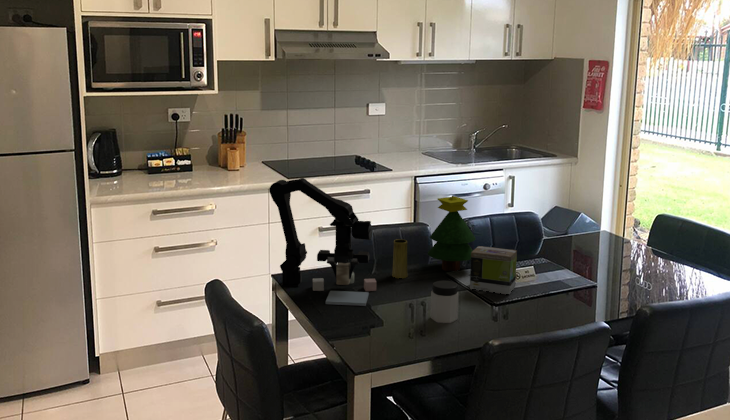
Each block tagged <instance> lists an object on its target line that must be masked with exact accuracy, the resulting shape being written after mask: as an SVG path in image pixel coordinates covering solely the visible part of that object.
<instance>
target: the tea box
mask: <svg viewBox="0 0 730 420" xmlns="http://www.w3.org/2000/svg"><path fill="white" fill-rule="evenodd" d="M472 250H473V251H472V252H471V259H470V272H469V275H470V276H469V289H470V290H472V289H476V290H475V291H479V290H483V291H482V292H486V291H489V292H488V293H493V292H495V293H494V294H500V293H501V295H506V294H509V295H510V294H511V293H512V292H513V291H514V289H515V288H516V280H517V261H518V260H517V257H518V255H517V253H518V250H516V249H507V248H498V247H491V246H482V245H481V246H480V245H478V246H477V247H476V248H474V249H472ZM514 287H515V288H514ZM512 290H513V291H512ZM511 291H512V292H511Z"/></svg>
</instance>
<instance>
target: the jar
mask: <svg viewBox="0 0 730 420" xmlns="http://www.w3.org/2000/svg"><path fill="white" fill-rule="evenodd" d="M431 287H432V290H431V291H430V315H429V317H430V318H431V319H432V320H433V321H434V322H435V323H441V324H452V323H453V322H455V321H457V320H458V316H459V315H458V313H459V311H458V310H459V292H458V284H457V283H456V282H454V281H451V280H436V281H434V282H433V283H432V286H431Z"/></svg>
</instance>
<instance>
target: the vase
mask: <svg viewBox="0 0 730 420" xmlns="http://www.w3.org/2000/svg"><path fill="white" fill-rule="evenodd" d="M392 251H393V254H392V255H393V256H392V272H391V273H392V274H391V276H392V277H393V278H394V277H395V279H399V278H402V279H406V278H408V276H409V274H408V240H406V239H402V238H401V239H400V238H398V239H394V240H393V250H392Z"/></svg>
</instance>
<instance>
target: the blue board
mask: <svg viewBox="0 0 730 420" xmlns="http://www.w3.org/2000/svg"><path fill="white" fill-rule="evenodd" d="M369 292H370V291H344V290H330V291H329V292H328V295H327V297H326V300H325V305H339V306H341V305H342V306H361V307H366V305H367V301H368V298H369V295H370V293H369Z"/></svg>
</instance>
